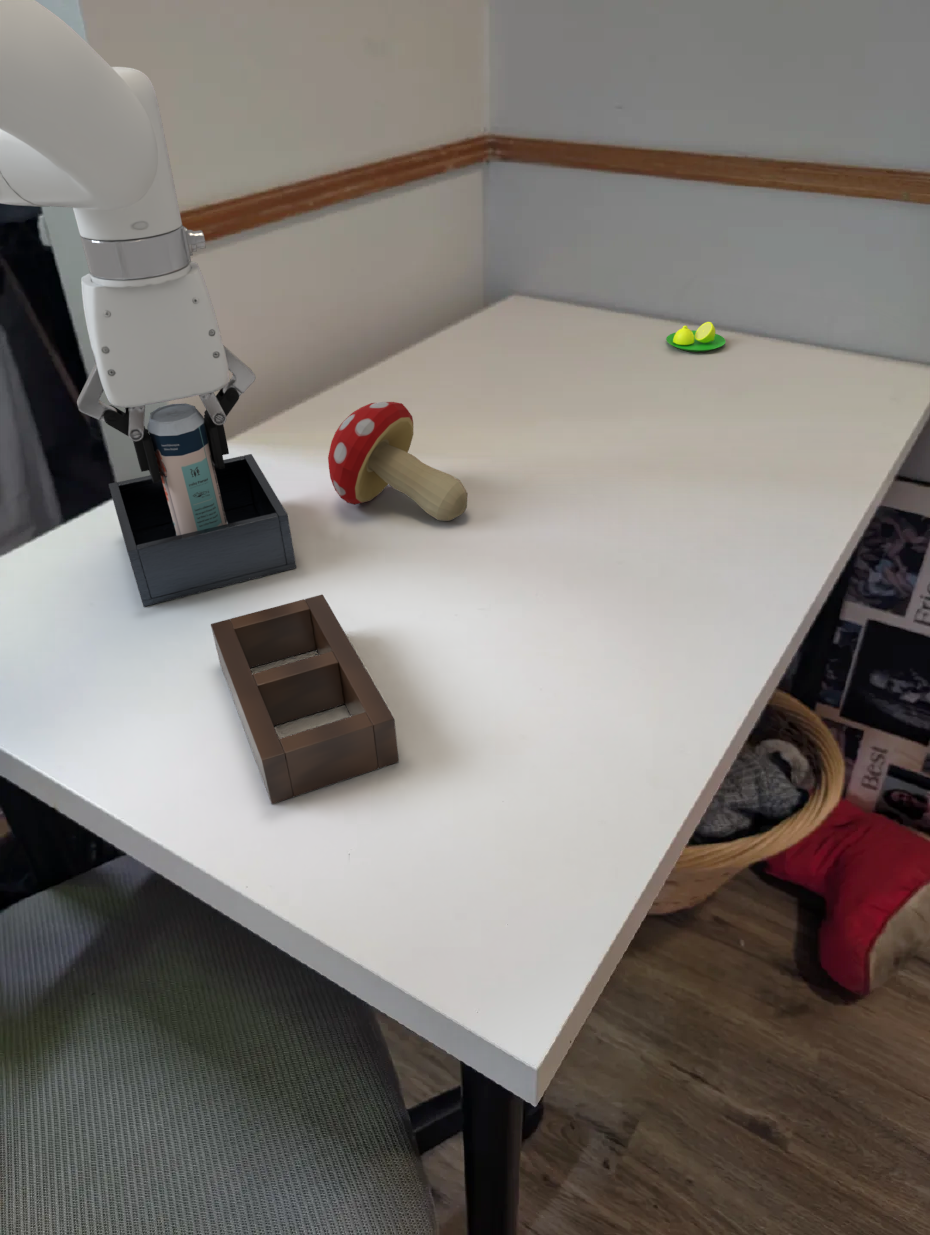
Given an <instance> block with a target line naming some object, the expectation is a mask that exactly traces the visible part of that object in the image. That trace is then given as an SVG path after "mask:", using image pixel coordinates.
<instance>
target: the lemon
mask: <svg viewBox="0 0 930 1235" xmlns="http://www.w3.org/2000/svg"><path fill="white" fill-rule="evenodd" d="M665 340H666V341H665V342H667V343H668V344H669V345H671V346H672V347H674V348H676V349H678V350H681V351H685V352H690V353H691V352H692V353H704V352H705V353H706V352H709V351H713V350H715V349H718V348H721V347H723V346H724V345H725V344H726V339H725V337H724V336H722V335H721V334H718V333H716V328H715V325H714V324H713V322H711V321H706V322H704V323H702V324H701V325H700V326H699V327H698V328H697V329H696V330H693V329H692V330H691V329H690V328H689V327H688V325H683V326H682V327H681V328H679V329H678V330H677V331H676V332H671V333H670V334H669V335H667V336H666V338H665Z"/></svg>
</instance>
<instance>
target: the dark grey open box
mask: <svg viewBox="0 0 930 1235" xmlns="http://www.w3.org/2000/svg"><path fill="white" fill-rule="evenodd" d="M223 460H224V465H225V468H223V469H219V468H216V467H215V465H214V468H215V473H216V477H217V481H218V486H219V490H220V494H221V499H222V503H223V507H224V512H225V516H226V520H227V522H228V524H225V525H221V526H217V527H212V528H208V529H204V530H200V531H195V532H191V533H187V534H182V535H178V536H176V531H175V527H174V523H173V520H172V516H171V512H170V508H169V505H168V501H167V497H166V494H165V490H164V486H163V483H162V479H161V480H159V482H156V483H153V480H152V477H151V475H150V474H149V475H146V476H141V477H136V478H130V479H126V480H121V481H116V482H115V481H114V482H111V483H108V488H109V491H110V494H111V499H112V502H113V505H114V509H115V512H116V516H117V519H118V523H119V527H120V531H121V533H122V534H121V535H122V538H123V542H124V545H125V548H126V551H127V555H128V559H129V563H130V566H131V569H132V572H133V576H134V580H135V583H136V587H137V589H138V593H139V597H140V600H141V603H142V607H148V606H152V605H156V604H160V603H165V602H169V601H171V600H176V599H180V598H184V597H187V596H193V595H195V594H199V593H203V592H207V591H212V590H216V589H219V588H224V587H227V586H231V585H236V584H240V583H244V582H248V581H252V580H254V579H258V578H259V579H260V578H263V577H267V576H271V575H275V574H279V573H282V572H287V571H290V570H294V569H297V563H296V556H295V550H294V545H293V538H292V533H291V527H290V521H289V516H288V512H287V511H286V509H285V508H284V506H283V504H282V503H281V501H280V499H279V498H278V496H277V494H276V493H275V491H274V489H273V488H272V485H271V484H270V482H269V481H268V479H267V477H266V476H265V474H264V472H263V470H262V469H261V467H260V466H259V464H258V462H257V460H256V459H255V457H254V456H253V454H252V453H248V454H244V455H239V456H236V457H231V458H226V459H223ZM213 464H214V463H213ZM160 476H161V475H160Z"/></svg>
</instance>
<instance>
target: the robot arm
mask: <svg viewBox="0 0 930 1235" xmlns="http://www.w3.org/2000/svg"><path fill="white" fill-rule="evenodd" d="M160 110H161V109H160V105H159V101H158V97H157V92H156V89H155V87H154V85H153V82H152V81H151V79H150V78H149V77H148V75H147V74H146V73H144V72H143V71H142V70H139V69H136V68H133V67H128V66H127V67H125V66H111V65H110V64H109V63H108V62H107V61H106V60H105V59H104V58H103V57H102V56H101V55H100V54H99V53H98V52H97V51H96V50H95V49H94V48H93V47H92V46H91V45H90V44H89V43H88V42H87V41H86V40H84V38H83V37H82V36H81V35H80V34H79V33H77V31H75V30H74V29H73V27H71V26H70V25H69V24H67V23H66V22H65V21H64V20H63V19H61V18H60V17H59V16H58V15H56V14H55V13H54V12H52V11H51V10H50V9H48V8H47V7H45V6H44V5H43V4H41V3H40V2H38V1H37V0H0V204H1V205H10V206H22V207H40V208H48V207H49V208H50V207H54V208H67V209H68V208H70V209H72V210H73V214H74V218H75V221H76V225H77V229H78V234H79V237H80V241H81V245H82V248H83V253H84V256H85V260H86V264H87V267H88V272H89V273H87V274H84V275H83V276H82V277H81V278H80V279H81V280H80V282H81V284H80V285H81V286H80V287H81V297H82V298H81V299H82V306H83V307H82V308H83V312H84V313H83V314H84V319H85V324H86V328H87V334H88V338H89V344H90V347H91V353H92V356H93V360H94V364H93V367H92V369H91V371H90V373H89V375H88V377H87V378H86V381H85V383H84V385H83V387H82V390H81V392H80V394H79V395H78V398H77V401H76V404H77V408H78V411H79V412H81V413H82V414H84V415H86V416H88V417H92V418H94V419H96V420H98V421H102V422H104V423H105V424H107V425H108V426H109V427H111V428H113V429H114V430H116V431H118V432H120V433H122V434H123V435H125V436H127V437H128V438H129V440H131V441H132V443H133V447H134V450H135V455H136V458H137V462H138V465H139V468H140V472H141V473H142V472H147V471H148V472H149V475H151V477H152V480H153V483H156V482H159V480H161V476H160V472H159V468H158V464H157V460H156V455H155V451H154V447H153V443H152V440H151V437H150V435H149V432H148V429H147V428H146V426H145V417H146V406H148V405H154V404H160V403H164V402H171V401H176V400H181V399H182V400H183V399H187V398H192V397H197V396H198V397H199V399H200V401H201V403H202V404H203V406H204V408H205V410H204V414H203V417H204V425H205V430H206V434H207V438H208V443H209V447H210V451H211V455H212V460H213V463H214V465H215V467H216V468H219V469H223V468H225V465H224V460H225V459H224V456H226V455H229V454H230V451H229V446H228V441H227V436H226V430H225V426H224V424H225V423H226V422H227V417H228V415H229V414H230V413H231V411H232V409H233V408H234V407H235V405H236V404H237V403H238V402H239V399H240V397H241V396H242V394H244V393H245V392H246V391H247V390H248V389H249V388H250V386H251V385H252V384H253V383H254V382H255V381H256V378H257V376H256V374H255V373H254V371H253V370H252V369H251V368H250V367H249V366H248V364H246V363H245V362H244V361H242V360H241V359H240V357H238V356H237V355H236V354H234V353H233V352H232V351H231V350H230V349H229V348H228V347H227V346H226V345H225V344H224V342H223V338H222V333H221V330H220V325H219V322H218V318H217V315H216V311H215V308H214V305H213V302H212V298H211V296H210V292H209V289H208V286H207V283H206V281H205V278H204V275H203V273H202V270H201V268H200V266H199V264H198V263H197V262H196V261H193V260H192V258H191V256H194V254H193V253H195V252H197V251H198V250H203V249H206V248H207V244H206V239H205V235H204V232H203V230H200V229H199V230H193V229H188V228H187V227H186V226H184V225H183V222H182V217H181V212H180V207H179V201H178V196H177V190H176V186H175V180H174V174H173V171H172V165H171V161H170V156H169V150H168V146H167V141H166V135H165V130H164V125H163V120H162V116H161V115H162V114H161V111H160ZM230 372H231V374H232V376H231V378H230ZM215 392H217V394H215ZM103 393H104V394H105V397H106V398H107V401H108V402H109V403H110V404H107V403H105V402H104V401H102V400H100V399H101V397H102V394H103ZM117 407H118V408H117ZM119 408H124V411H123V410H121V409H119Z"/></svg>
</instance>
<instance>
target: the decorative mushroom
mask: <svg viewBox="0 0 930 1235" xmlns="http://www.w3.org/2000/svg"><path fill="white" fill-rule="evenodd" d="M413 438H414V419H413V415H412V414H411V413H410V410H408V408H407V407H406V406H405V405H404V404H403V403H401V402H397V401H379V402H370V403H367V404H365V405H363V406H361V407H359V408H357V409H356V410H354V411H353V412H352V413H350V414H349V415H348V416H347V417H346V418H345V419H344V420H343V421H342V422H341V423H340V425H339V426H338V428H337V429H336V430H335V432H334V435H333V437H332V439H331V442H330V446H329V450H328V456H327V461H328V471H329V478H330V481H331V484H332V486H333V489H334V491H335V492H336V494H337V495H338V496H339V497H340V498H341V499H342V501H344V502H346V503H347V504H350V505H360V504H363V503H367V502H370V501H372V500H374V499H375V498H376V497H377V496H378V495H380V494H381V493H382V492H383V491H384V490H385V489H386V488H387V486H388V485H389V486H390V487H391V488H392V489H394V490H396V491H398V492H400V493H402V494H404V495H405V496H407V497H408V498H409V499H411V500H412V501H413V502H415V504H416V505H418V506H419V507H420V508H421V510H423V511H424V512H425V513H426V514H427V515H429V516H431V517H432V518H434V519H435V520H437V521H444V522H445V521H446V522H450V521H453V520H454V519H457V518H458V517H460V516H461V515H463V514H464V513H465V511H466V509H467V507H468V494H469V493H468V491H467V488H466V487H465V485H464V483H463V482H462V481H461V480H460V479H458V478H457V477H455V476H453V475H452V474H450V473H447V472H445V471H442V470H439V469H437V468H435V467H432V466H430V465H428V464H426V463H424V462H423V461H422V460H420V459H419V458H417V457H416V456H415V455H413V454H411V453H410V452H409V451H410V448H411V445H412V441H413Z"/></svg>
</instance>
